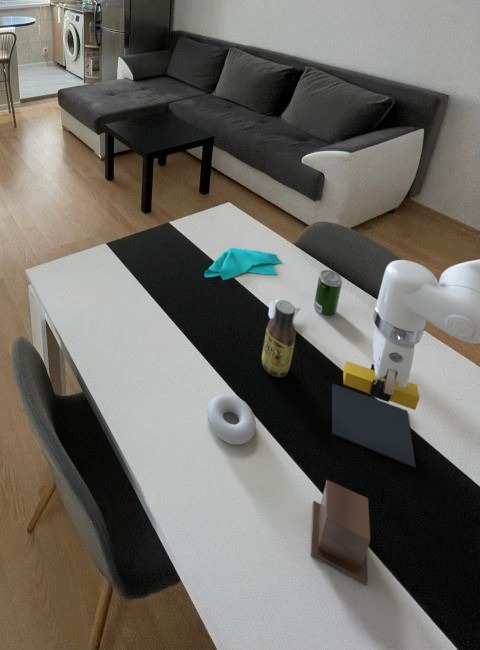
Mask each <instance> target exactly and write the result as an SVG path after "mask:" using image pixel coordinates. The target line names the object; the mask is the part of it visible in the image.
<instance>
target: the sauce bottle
mask: <svg viewBox="0 0 480 650" xmlns="http://www.w3.org/2000/svg"><path fill="white" fill-rule="evenodd" d="M295 308H296V307H295V306H294V304H293V303H292V302H291V301H290V302H289V301H288V300H285V299H279V301H278V302H277V303H276V306H275V310H276V311H275V315H274V317H273V318H271V319H270V318H269V321H268V322H267V325H266V328H265V335H264V341H263V347H262V353H261V364H262V367H263V370H264V371H265V372H266V373H268V374H269V375H271V376H272V377H275V378H284V377H286V376H287V375H288V373H289V370H290V367H291V363H292V358H293V353H294V349H295V344H296V336H297V330H296V327H295V326H294V325H293V324H292V323H293V316H294V315H295Z"/></svg>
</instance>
